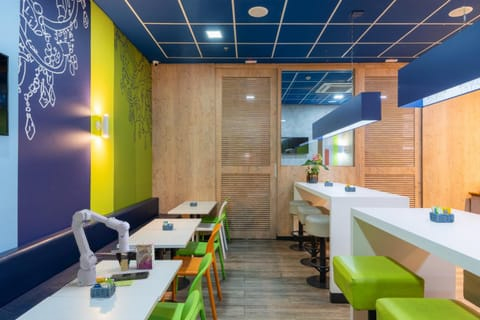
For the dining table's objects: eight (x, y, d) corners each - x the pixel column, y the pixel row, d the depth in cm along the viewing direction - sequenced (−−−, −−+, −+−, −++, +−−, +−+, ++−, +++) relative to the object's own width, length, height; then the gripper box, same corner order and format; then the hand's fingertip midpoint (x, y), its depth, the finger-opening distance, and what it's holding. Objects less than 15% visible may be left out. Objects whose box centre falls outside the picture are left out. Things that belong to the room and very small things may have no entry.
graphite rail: (109, 282, 181) (109, 278, 181) (112, 277, 188) (112, 274, 188) (147, 278, 184) (147, 275, 184) (149, 274, 191) (149, 271, 191)
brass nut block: (120, 271, 180) (120, 261, 180) (122, 268, 184) (121, 259, 184) (127, 270, 180) (127, 261, 180) (129, 268, 184) (128, 259, 184)
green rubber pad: (113, 287, 173) (113, 286, 173) (116, 282, 180) (116, 281, 180) (131, 285, 174) (131, 284, 174) (133, 280, 181) (133, 279, 181)
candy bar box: (136, 269, 201) (135, 245, 201) (139, 266, 206) (138, 243, 206) (152, 269, 200) (151, 244, 200) (155, 266, 205) (154, 242, 205)
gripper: (137, 239, 187) (138, 261, 187) (113, 241, 185) (113, 263, 185) (135, 242, 180) (136, 265, 180) (110, 244, 178) (110, 267, 178)
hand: (124, 264), depth 182 cm, fingers closed on brass nut block, 4 cm apart
